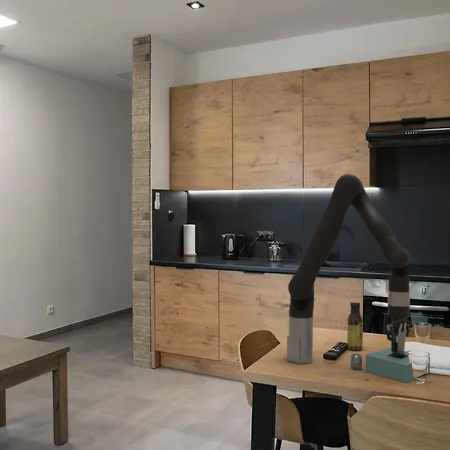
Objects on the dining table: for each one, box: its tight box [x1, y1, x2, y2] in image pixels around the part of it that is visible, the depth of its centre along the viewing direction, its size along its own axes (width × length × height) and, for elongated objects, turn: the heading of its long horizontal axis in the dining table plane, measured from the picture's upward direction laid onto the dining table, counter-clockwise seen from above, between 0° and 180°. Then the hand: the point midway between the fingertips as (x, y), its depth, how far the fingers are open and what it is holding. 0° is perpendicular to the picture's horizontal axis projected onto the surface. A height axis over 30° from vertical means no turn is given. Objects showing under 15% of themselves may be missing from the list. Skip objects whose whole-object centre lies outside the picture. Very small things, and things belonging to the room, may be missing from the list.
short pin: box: [350, 353, 363, 371], centre depth 187 cm, size 4×4×5 cm
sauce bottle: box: [347, 300, 364, 352], centre depth 214 cm, size 7×6×20 cm
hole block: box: [365, 346, 431, 384], centre depth 183 cm, size 16×16×6 cm
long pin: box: [392, 331, 405, 359], centre depth 183 cm, size 4×4×11 cm
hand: (397, 350), depth 183 cm, fingers closed on long pin, 4 cm apart
